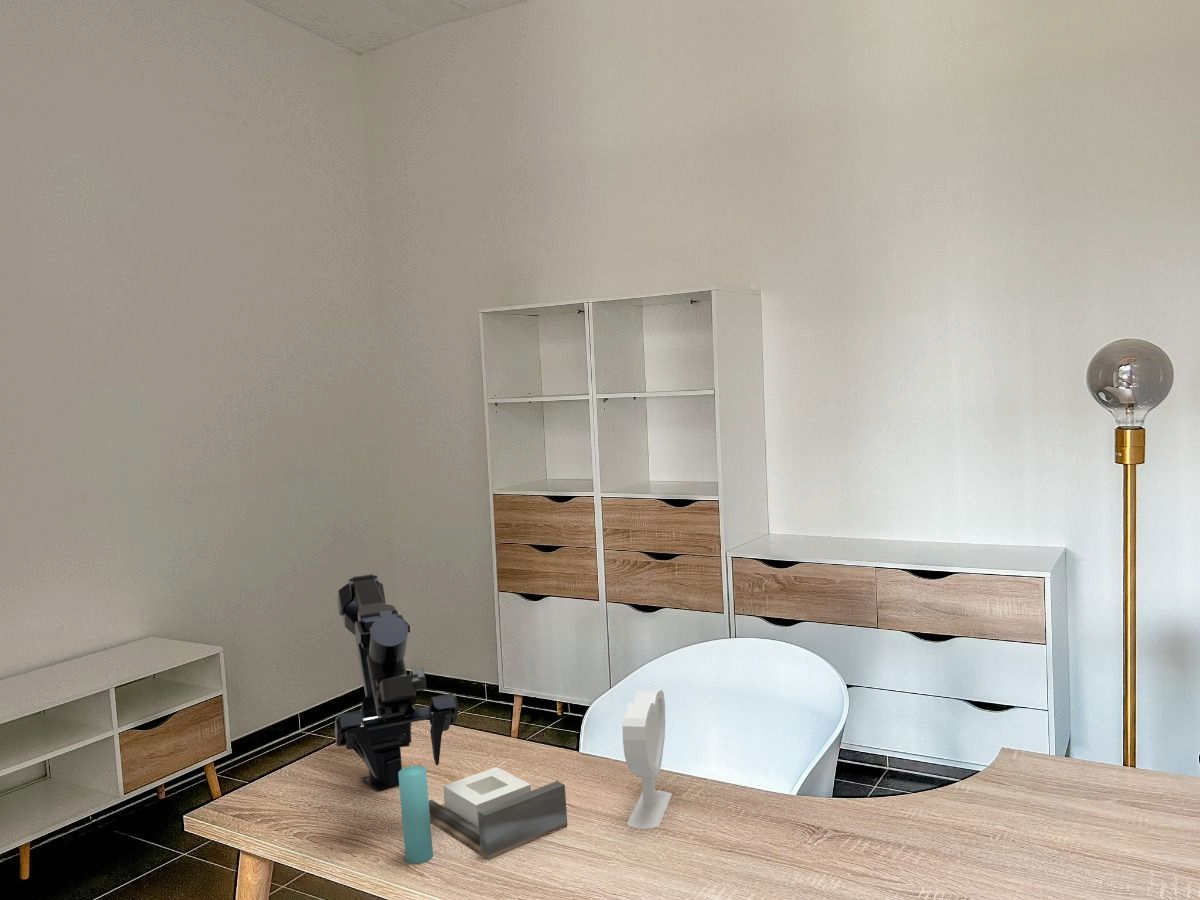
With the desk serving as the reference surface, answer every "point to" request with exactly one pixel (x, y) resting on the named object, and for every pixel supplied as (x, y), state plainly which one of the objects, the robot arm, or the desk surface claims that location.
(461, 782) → the socket block
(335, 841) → the desk surface
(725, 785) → the desk surface
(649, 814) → the heart sculpture
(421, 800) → the dowel
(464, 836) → the rail board
